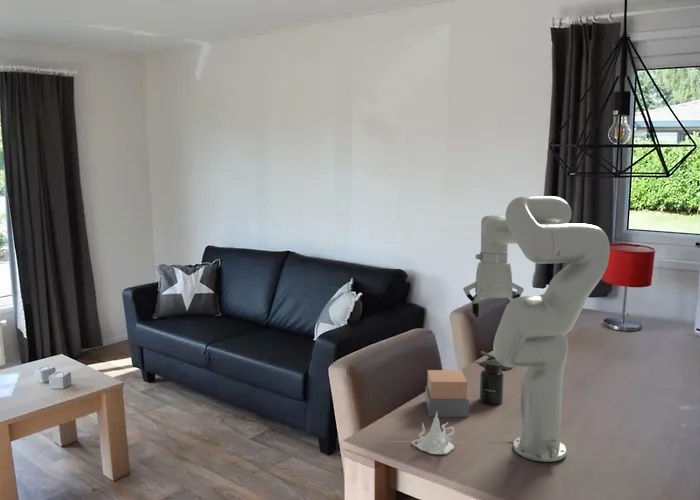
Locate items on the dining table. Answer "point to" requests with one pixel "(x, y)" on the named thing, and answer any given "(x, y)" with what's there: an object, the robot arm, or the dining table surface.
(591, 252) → the robot arm
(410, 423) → the dining table surface
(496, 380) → the supplement bottle
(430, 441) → the tentacle sculpture
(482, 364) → the tank toy
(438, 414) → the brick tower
